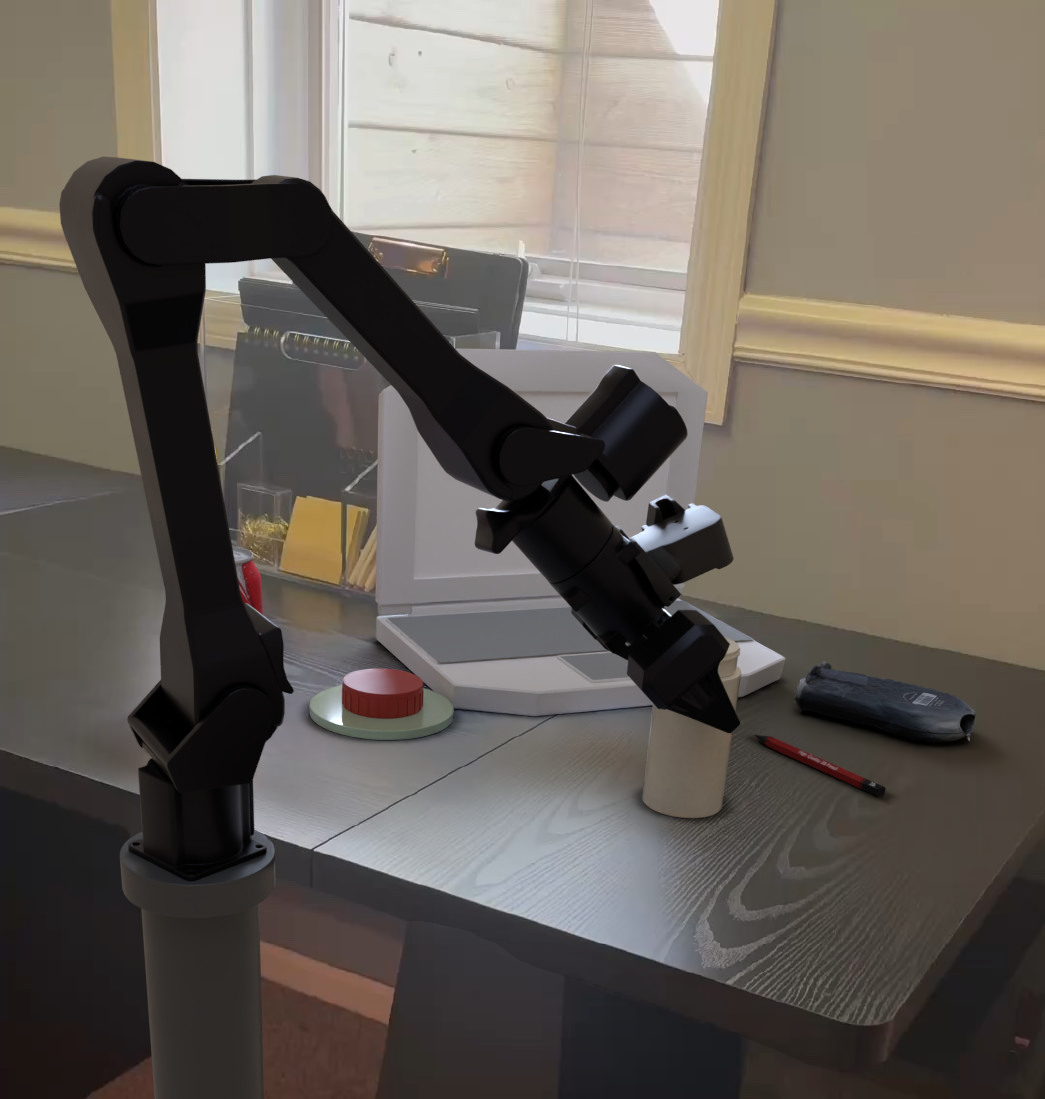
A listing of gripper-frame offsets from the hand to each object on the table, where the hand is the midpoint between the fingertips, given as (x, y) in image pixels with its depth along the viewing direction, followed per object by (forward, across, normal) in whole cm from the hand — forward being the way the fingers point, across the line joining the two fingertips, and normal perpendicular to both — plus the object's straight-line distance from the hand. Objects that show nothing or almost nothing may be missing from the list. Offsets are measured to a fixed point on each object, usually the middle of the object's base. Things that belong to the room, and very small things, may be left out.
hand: (712, 706), depth 103 cm
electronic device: (+22, +16, -11) cm, 29 cm away
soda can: (-18, +25, +30) cm, 43 cm away
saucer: (-10, +20, +20) cm, 30 cm away
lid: (-11, +20, +18) cm, 29 cm away
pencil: (+14, +6, -3) cm, 16 cm away
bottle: (+4, 0, +6) cm, 8 cm away
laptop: (+5, +32, +6) cm, 33 cm away
